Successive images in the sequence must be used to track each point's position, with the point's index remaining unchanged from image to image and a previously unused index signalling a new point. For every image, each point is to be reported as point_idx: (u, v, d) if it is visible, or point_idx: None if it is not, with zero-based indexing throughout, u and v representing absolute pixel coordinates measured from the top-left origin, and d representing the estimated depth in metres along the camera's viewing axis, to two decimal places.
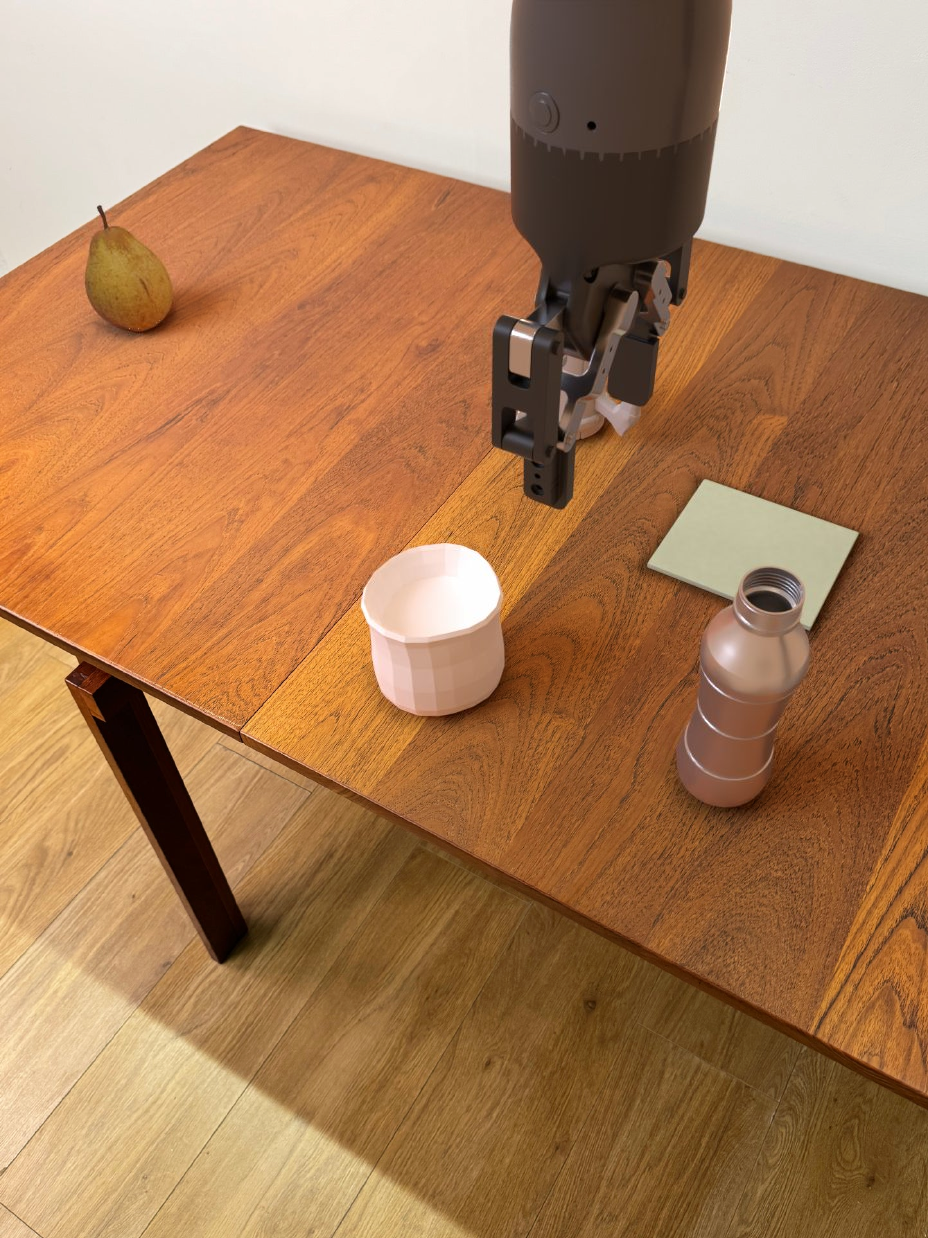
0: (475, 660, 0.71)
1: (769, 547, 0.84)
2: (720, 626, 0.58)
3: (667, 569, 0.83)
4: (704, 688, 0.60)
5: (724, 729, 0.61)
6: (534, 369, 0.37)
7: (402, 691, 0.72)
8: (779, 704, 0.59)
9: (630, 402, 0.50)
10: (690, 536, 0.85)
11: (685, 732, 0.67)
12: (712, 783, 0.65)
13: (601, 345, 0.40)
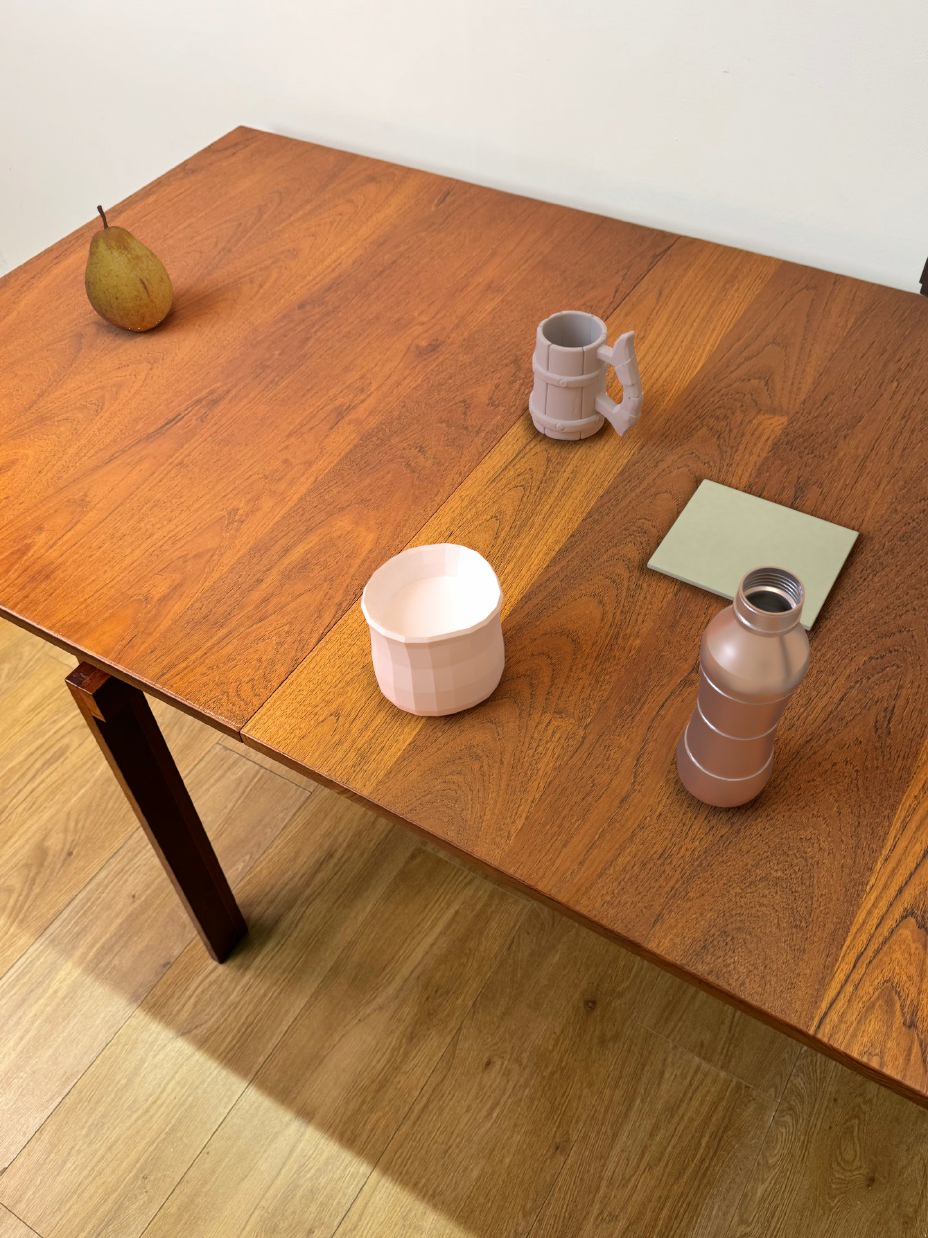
0: (475, 660, 0.71)
1: (769, 547, 0.84)
2: (720, 626, 0.58)
3: (667, 569, 0.83)
4: (704, 688, 0.60)
5: (724, 729, 0.61)
6: None
7: (402, 691, 0.72)
8: (779, 704, 0.59)
9: None
10: (690, 536, 0.85)
11: (685, 732, 0.67)
12: (712, 783, 0.65)
13: None
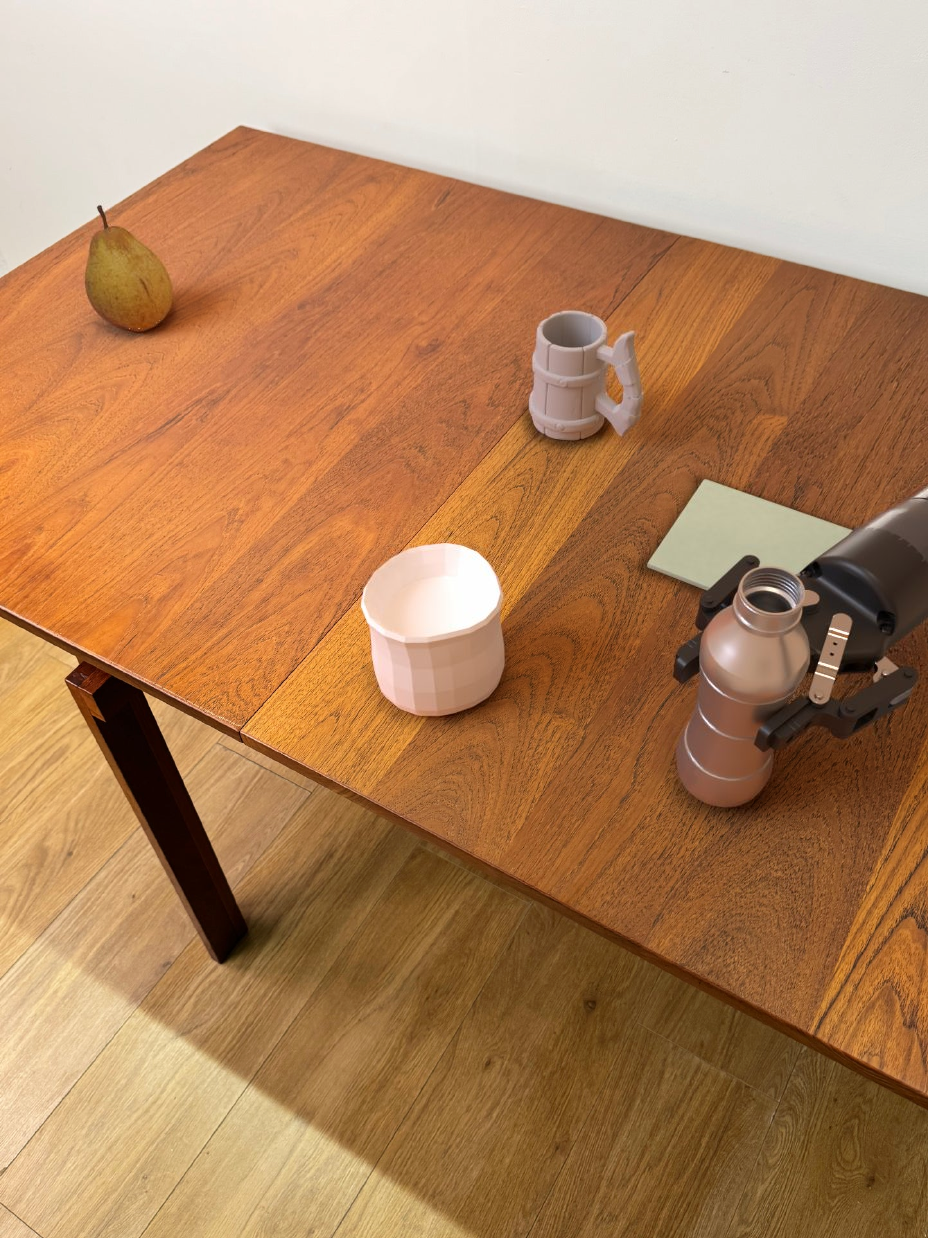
0: (475, 660, 0.71)
1: (769, 547, 0.84)
2: (720, 627, 0.58)
3: (667, 569, 0.83)
4: (704, 688, 0.60)
5: (724, 729, 0.61)
6: (897, 704, 0.61)
7: (401, 691, 0.72)
8: (779, 704, 0.59)
9: (682, 677, 0.63)
10: (690, 536, 0.85)
11: (685, 732, 0.67)
12: (712, 783, 0.65)
13: None
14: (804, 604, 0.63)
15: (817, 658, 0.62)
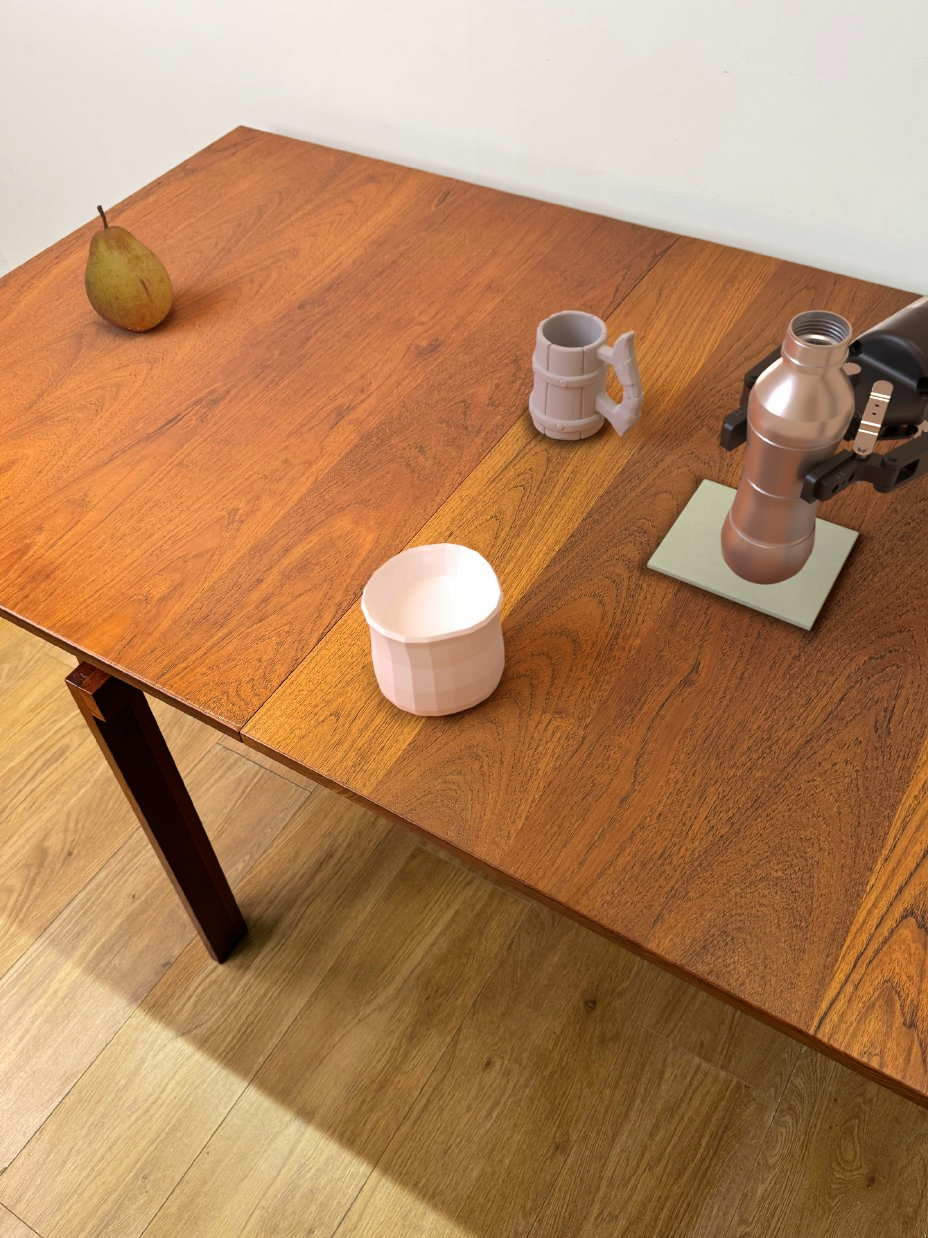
0: (475, 660, 0.71)
1: None
2: (769, 375, 0.60)
3: (667, 569, 0.83)
4: (751, 445, 0.63)
5: (770, 488, 0.64)
6: None
7: (402, 691, 0.72)
8: (825, 453, 0.61)
9: (729, 443, 0.65)
10: (690, 536, 0.85)
11: (729, 511, 0.70)
12: (757, 553, 0.68)
13: None
14: None
15: (860, 421, 0.65)
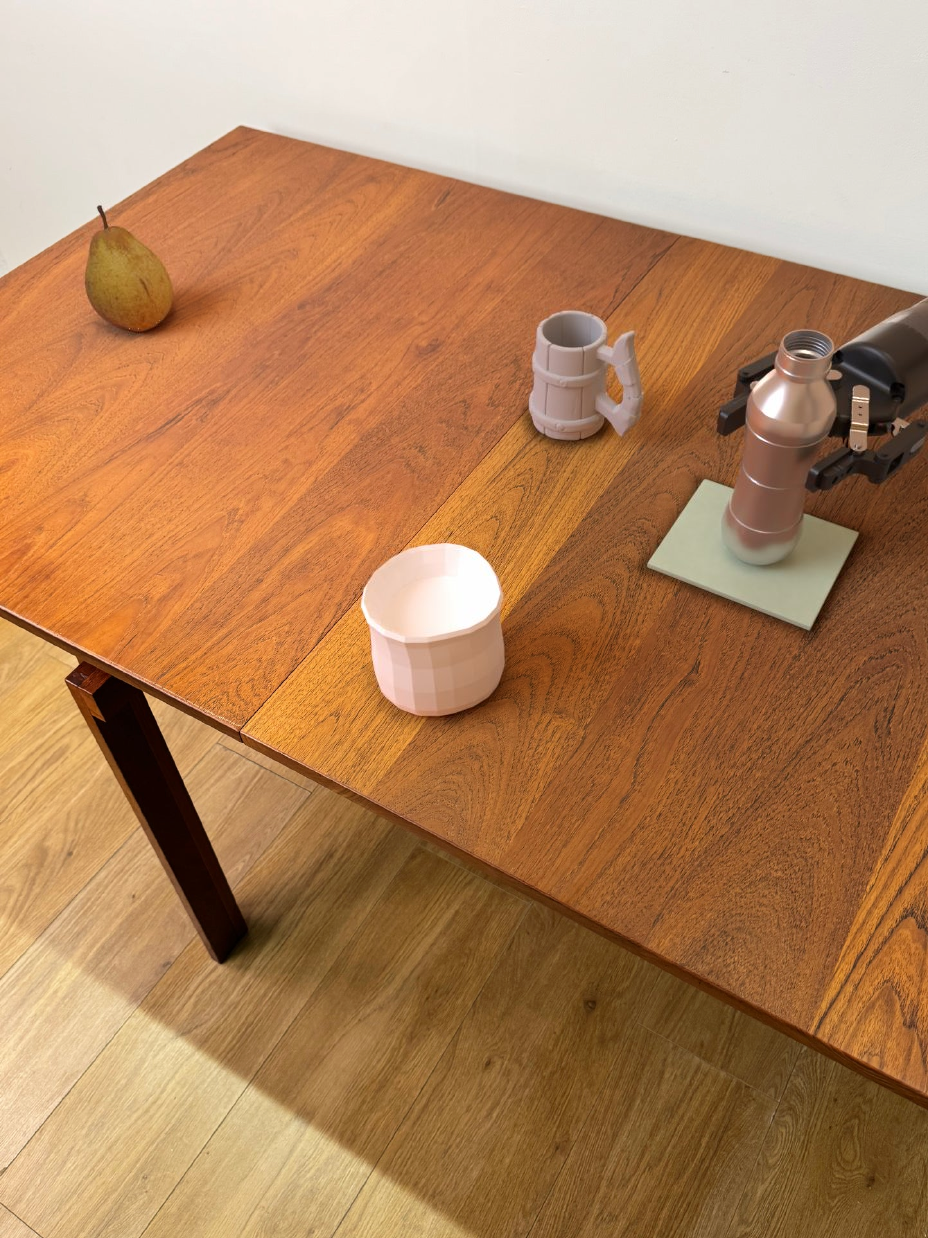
0: (475, 660, 0.71)
1: None
2: (764, 383, 0.71)
3: (667, 569, 0.83)
4: (749, 443, 0.74)
5: (765, 480, 0.75)
6: (915, 451, 0.75)
7: (402, 691, 0.72)
8: (811, 450, 0.72)
9: (724, 429, 0.77)
10: (690, 536, 0.85)
11: (729, 501, 0.81)
12: (753, 537, 0.79)
13: None
14: (829, 379, 0.77)
15: (847, 422, 0.75)
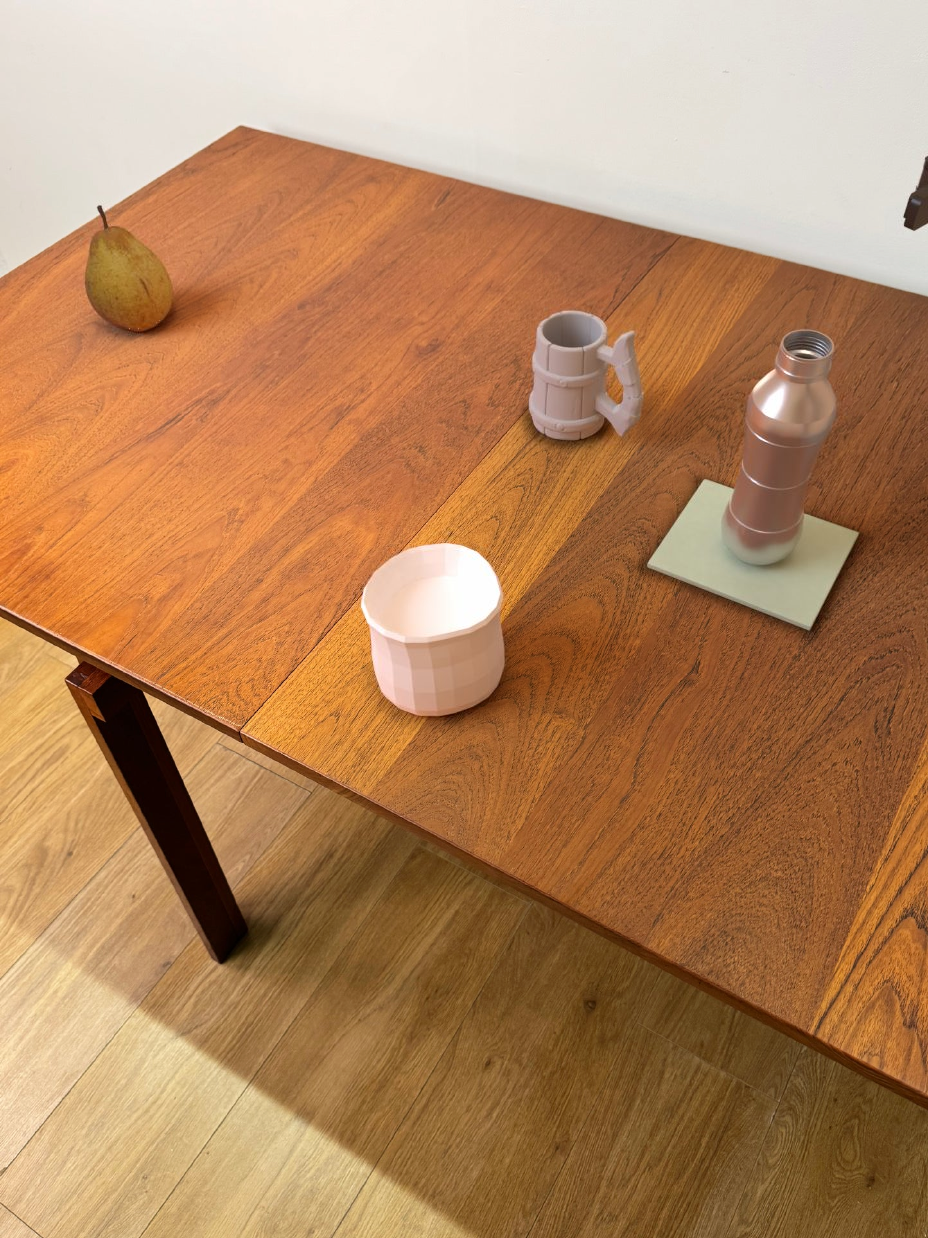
0: (475, 660, 0.71)
1: None
2: (764, 384, 0.71)
3: (667, 569, 0.83)
4: (749, 443, 0.74)
5: (765, 480, 0.75)
6: None
7: (401, 691, 0.72)
8: (811, 450, 0.72)
9: (915, 219, 0.65)
10: (690, 536, 0.85)
11: (729, 501, 0.81)
12: (753, 537, 0.79)
13: None
14: None
15: None
